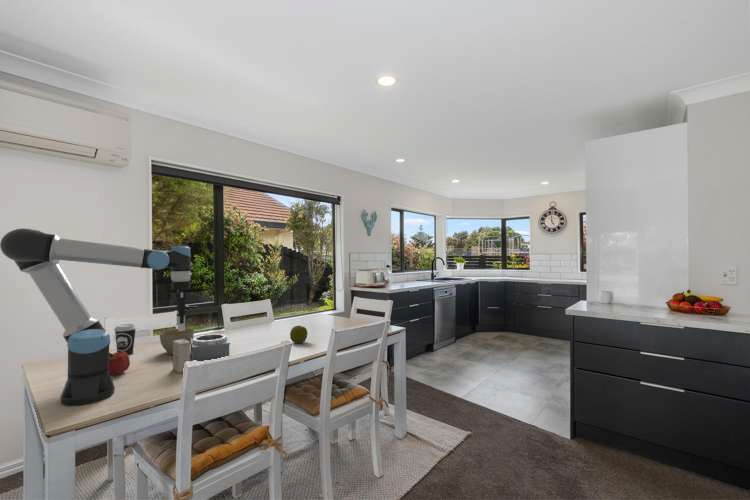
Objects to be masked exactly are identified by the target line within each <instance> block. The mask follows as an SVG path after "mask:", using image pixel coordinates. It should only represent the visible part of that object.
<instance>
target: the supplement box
mask: <svg viewBox="0 0 750 500" xmlns="http://www.w3.org/2000/svg"><path fill="white" fill-rule="evenodd" d="M190 349H191V344H190V342H189V341H187V340H185V339H181V340H176V341H173V354H172V371H175V372H176V373H178V374H183V373H182V372H183V368H184V363H185V362H186V361H190V362H191V354H190Z"/></svg>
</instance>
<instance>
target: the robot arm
mask: <svg viewBox="0 0 750 500" xmlns="http://www.w3.org/2000/svg"><path fill="white" fill-rule="evenodd" d="M0 250H1V252H2V254H3V255H4V256H5V257H7V258H8V259H10V260H13V261H14V263H15V264H16V266H17V267H18V269H19V270H20V272H22V273H25V274H29V276H30V277H31V279H32V280H33V281H34V283H35V285H36V287H37V289H39V291H40V293H41V294H42V296H43V297H44V298H45V301H46V302H47V303H48V305H49V306H50V308H51V310H52V311H53V313H54V315H55V316H56V317H57V319H58V321H59V322H60V323H61V326H62V327H63V329H64V332H63V335H62V337H63V338H64V339H65V342H66V343H67V344H66V345H67V346H66V347H67V379H66V383H65V384H64V387H63V389H62V392H61V394H60V404H61V405H63V406H66V407H67V406H70V407H71V406H73V407H74V406H83V405H89V404H92V403H96V402H99V401H103V400H106V399H107V398H110V397H111V396H113V394H115V384H114V382H113V379H112V377H111V375H110V374H109V353H110V344H111V336H110V333H109V332H108V331H107V329H105V328H104V326H103V325H102V323H101V321H100V319H97V318H94V317H92V315H90V313H89V312H88V309H87V308H86V307H85V305H84V303H83V301H82V300H81V298H80V297H79V295H78V293H77V292H76V290H75V289H74V286H73V285H72V283H71V282H70V280H69V279H68V277H67V276H66V274H65V271H63V269H62V268H61V266H60V264H59V263H60V261H65V262H66V261H67V262H77V263H89V264H98V265H99V264H101V265H109V266H110V265H111V266H121V267H131V268H132V267H133V268H140V269H152V270H156V271H157V270H158V271H160V270H163V269H165V268H167V269H168V268H169V269H170V268H171V271H170V272H171V273H170V275H171V276H170V279H171V283H170V284H171V285H170V287H171V288H170V289H171V290H172V291H176V293H175V300H176V308H175V309H176V327H177V329H178V331H185V328H186V315H187V312H186V301H187V300H186V299H187V293H186V292H185V290H186V291H187V290H190V289H191V276H192V275H193V273H192V272H191V265H192V264H191V263H192V262H191V261H192V260H191V258H192V255H191V254H192V253H191V248H190V247H189V246H184V245H183V246H179V245H178V246H171V249H170V250H160V249H150V248H149V249H148V248H143V247H134V246H133V247H132V246H124V245H123V246H122V245H116V244H108V243H101V242H100V243H99V242H91V241H83V240H76V239H69V238H62V237H59V236H58V235H57V234H51V233H45V232H43V231H40V230H37V229H32V228H17V229H13V230H11V231H9V232H7V233H6V234H4V235H3V236H2V238H1V240H0Z"/></svg>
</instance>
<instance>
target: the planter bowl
mask: <svg viewBox="0 0 750 500" xmlns="http://www.w3.org/2000/svg"><path fill="white" fill-rule="evenodd" d="M194 333H195V329H194V328H188V327H187V328H186V327H185V331H178V328H173V329H168V330H163V331H161V332H159V333H158V335H159V341H160V345H161V346H162V348H163V349H164V350H165V352H166V354H169V355H173V341H176V340H181V339H185V340H187V341H189V342H190V338H193V337H195V336H194V335H195V334H194ZM190 345H191V342H190Z"/></svg>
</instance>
